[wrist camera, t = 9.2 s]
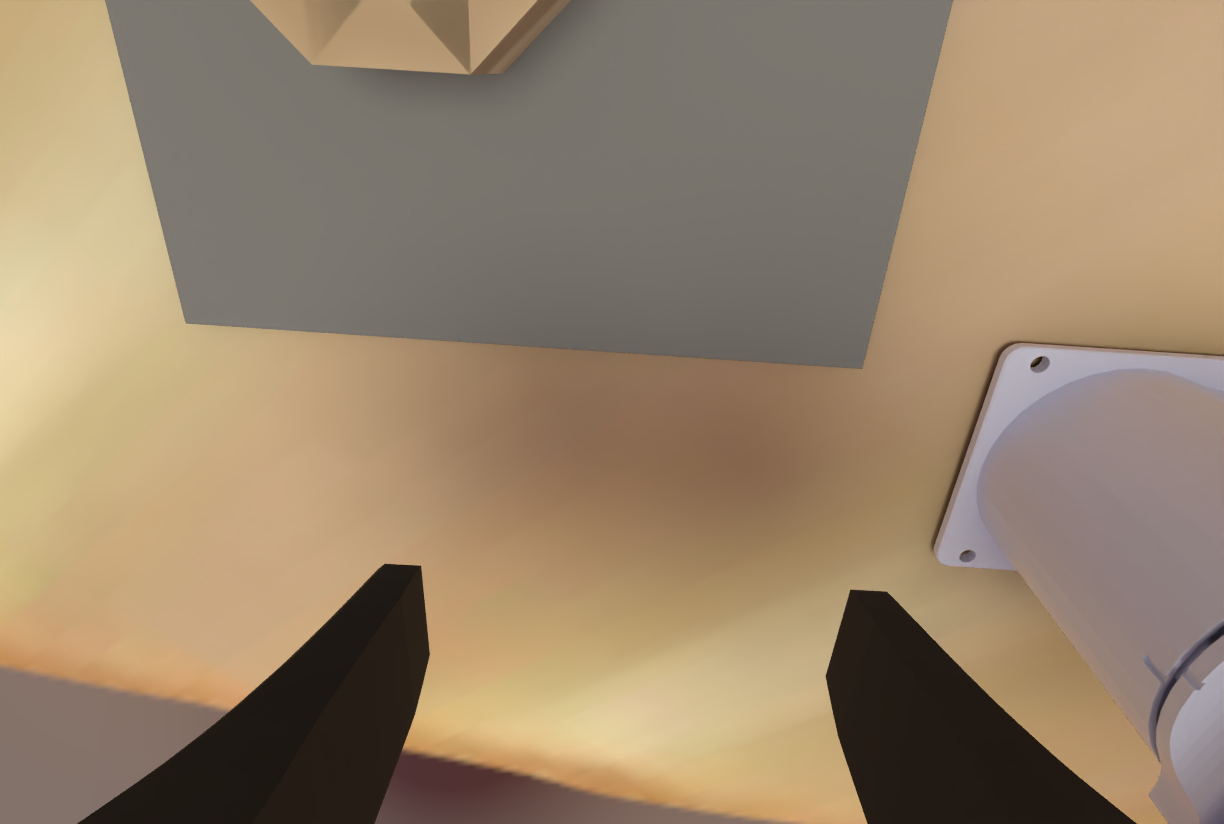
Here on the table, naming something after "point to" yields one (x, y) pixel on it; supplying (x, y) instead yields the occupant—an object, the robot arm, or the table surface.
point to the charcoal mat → (544, 176)
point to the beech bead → (412, 32)
